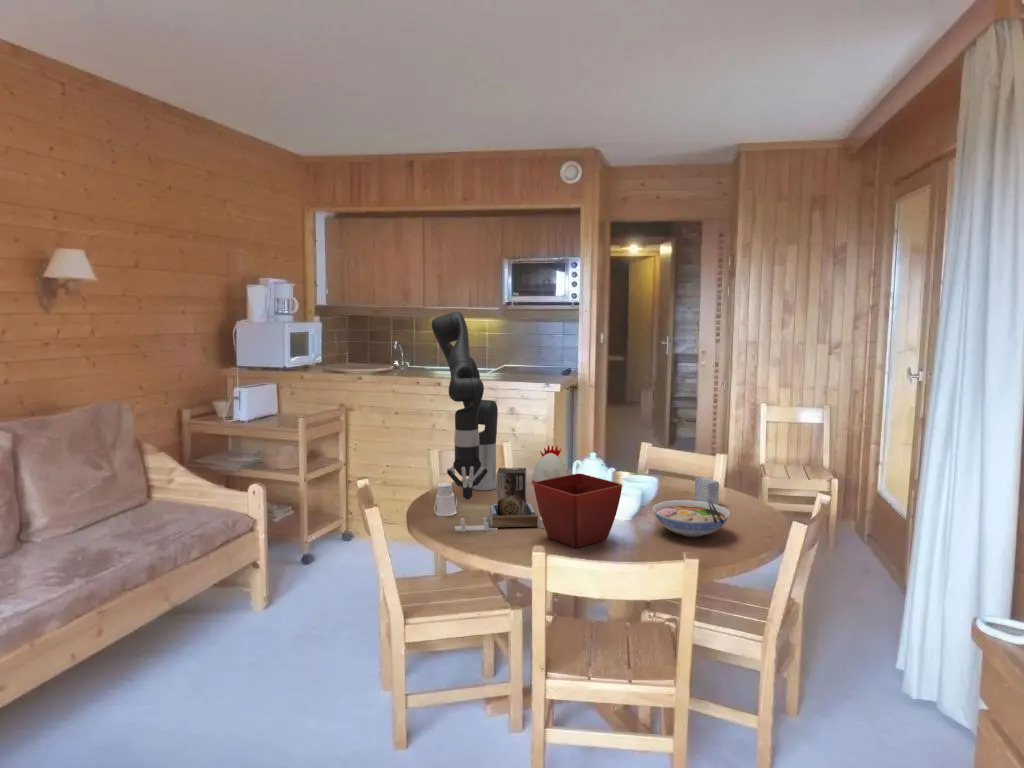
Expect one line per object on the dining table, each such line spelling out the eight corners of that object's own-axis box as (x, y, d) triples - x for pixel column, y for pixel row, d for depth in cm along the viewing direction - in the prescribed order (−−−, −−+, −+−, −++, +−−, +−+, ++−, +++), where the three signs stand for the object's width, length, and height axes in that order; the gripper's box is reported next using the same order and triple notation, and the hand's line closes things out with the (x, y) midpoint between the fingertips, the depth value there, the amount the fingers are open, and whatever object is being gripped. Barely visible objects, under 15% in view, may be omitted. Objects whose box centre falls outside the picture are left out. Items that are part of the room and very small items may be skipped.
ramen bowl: (651, 519, 236) (651, 494, 235) (724, 523, 232) (725, 498, 231) (652, 545, 211) (653, 517, 210) (734, 549, 208) (735, 521, 207)
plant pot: (531, 536, 219) (531, 481, 217) (578, 525, 230) (579, 472, 228) (574, 554, 204) (575, 495, 202) (623, 541, 215) (624, 484, 213)
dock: (489, 516, 239) (489, 504, 239) (530, 515, 241) (530, 503, 240) (492, 526, 229) (492, 513, 228) (535, 524, 230) (535, 512, 230)
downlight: (453, 509, 247) (452, 480, 246) (461, 514, 241) (459, 485, 240) (431, 513, 244) (429, 483, 243) (438, 518, 238) (436, 488, 236)
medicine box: (718, 506, 251) (719, 481, 250) (707, 507, 250) (708, 482, 249) (704, 500, 259) (705, 476, 258) (694, 502, 257) (694, 477, 256)
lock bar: (487, 525, 228) (487, 515, 228) (536, 523, 230) (536, 514, 229) (487, 527, 225) (487, 518, 225) (537, 526, 227) (537, 516, 227)
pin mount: (454, 526, 228) (454, 518, 228) (542, 523, 232) (542, 515, 231) (455, 532, 223) (455, 524, 222) (545, 529, 226) (545, 521, 225)
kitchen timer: (569, 487, 277) (570, 448, 275) (533, 487, 276) (533, 448, 275) (566, 478, 290) (566, 441, 289) (531, 478, 290) (531, 441, 288)
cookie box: (526, 516, 238) (527, 467, 236) (525, 522, 231) (525, 472, 229) (498, 515, 238) (498, 467, 236) (496, 521, 232) (496, 471, 230)
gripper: (445, 446, 218) (446, 503, 221) (489, 445, 220) (490, 501, 222) (444, 441, 226) (445, 496, 228) (487, 440, 227) (488, 494, 230)
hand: (467, 498), depth 225 cm, fingers closed
